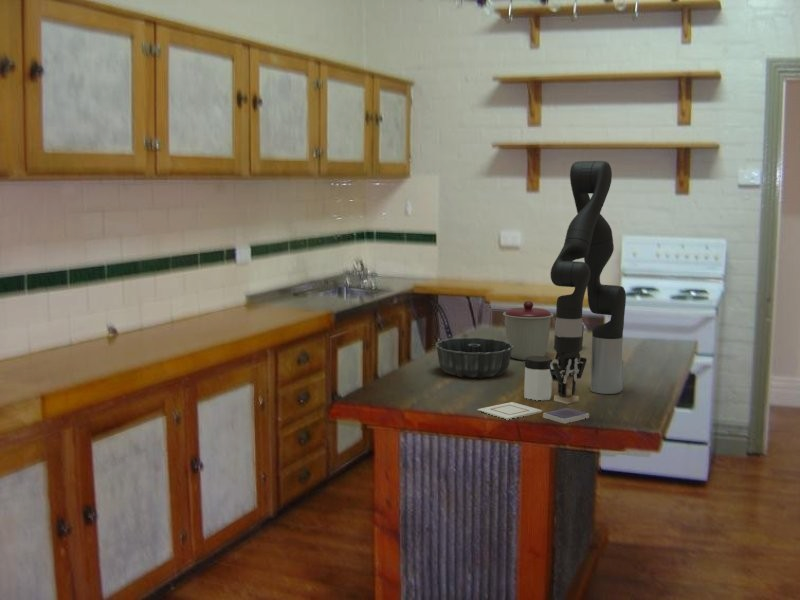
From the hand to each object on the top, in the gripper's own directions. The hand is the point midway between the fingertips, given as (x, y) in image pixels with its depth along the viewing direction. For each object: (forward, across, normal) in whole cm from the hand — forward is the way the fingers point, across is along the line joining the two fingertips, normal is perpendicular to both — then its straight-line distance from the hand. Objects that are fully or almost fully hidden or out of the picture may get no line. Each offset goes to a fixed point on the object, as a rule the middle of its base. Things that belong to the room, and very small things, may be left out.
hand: (566, 394), depth 257 cm
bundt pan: (+7, -19, -58) cm, 61 cm away
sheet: (+7, +8, -14) cm, 17 cm away
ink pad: (+7, 0, 0) cm, 7 cm away
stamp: (+2, 0, 0) cm, 2 cm away
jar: (+7, -11, -21) cm, 25 cm away
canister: (+6, -52, -65) cm, 84 cm away
